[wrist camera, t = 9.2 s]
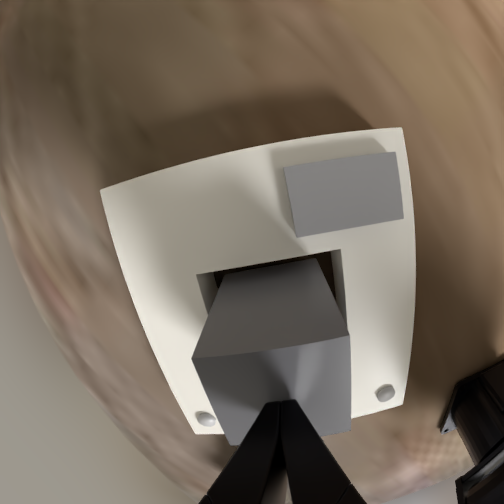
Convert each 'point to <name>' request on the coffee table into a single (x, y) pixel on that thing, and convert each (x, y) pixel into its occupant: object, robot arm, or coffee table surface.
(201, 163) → the socket plate
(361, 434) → the coffee table surface
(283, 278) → the plug
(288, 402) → the robot arm
